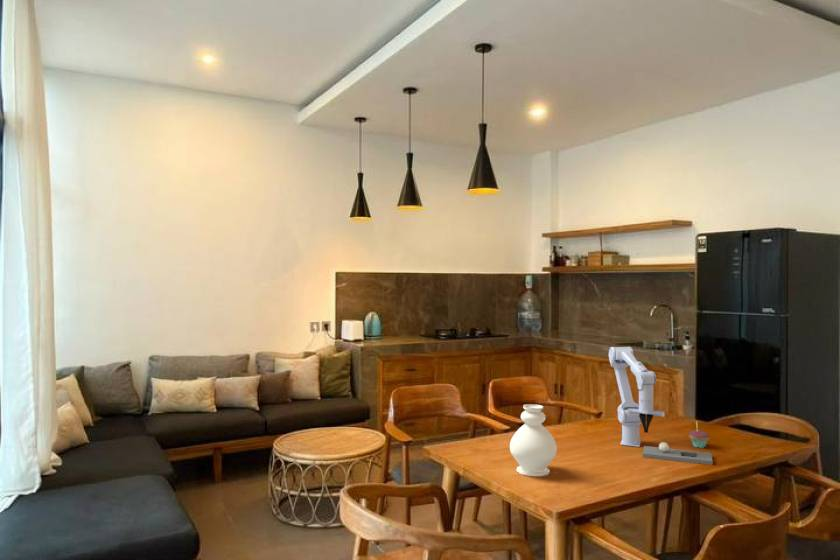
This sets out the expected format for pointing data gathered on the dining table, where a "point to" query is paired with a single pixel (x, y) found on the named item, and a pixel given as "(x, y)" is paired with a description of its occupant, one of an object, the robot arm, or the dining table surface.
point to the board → (678, 455)
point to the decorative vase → (533, 443)
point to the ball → (663, 447)
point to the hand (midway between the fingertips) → (646, 432)
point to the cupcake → (699, 437)
